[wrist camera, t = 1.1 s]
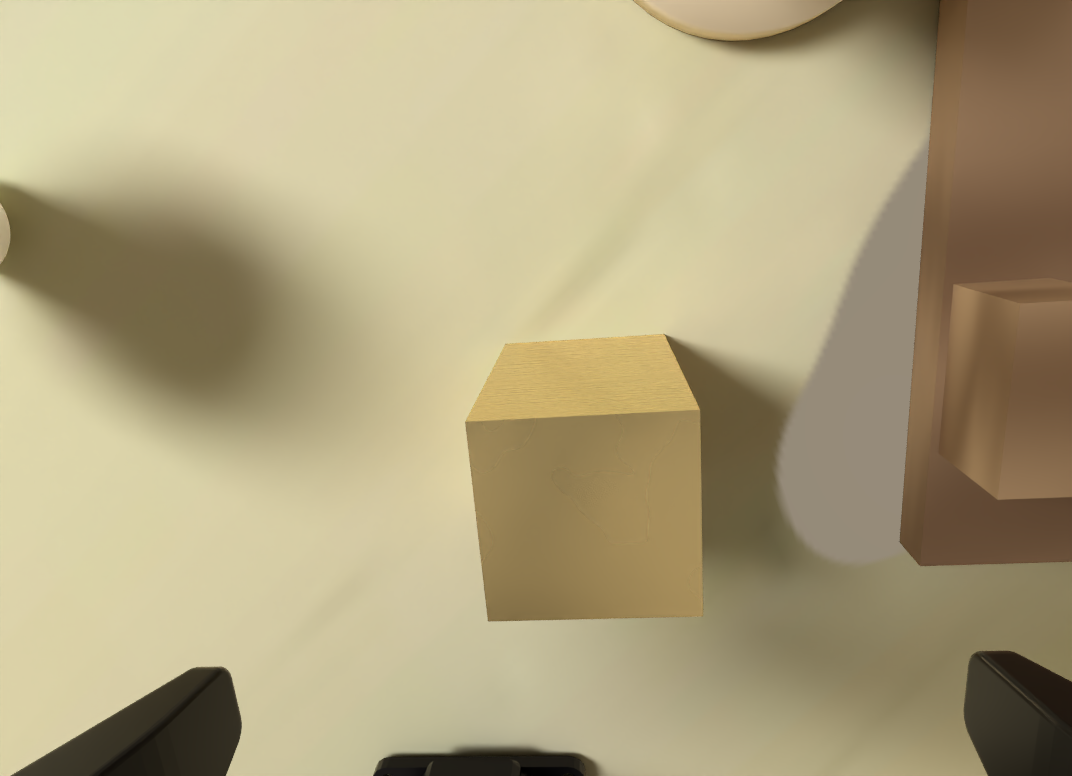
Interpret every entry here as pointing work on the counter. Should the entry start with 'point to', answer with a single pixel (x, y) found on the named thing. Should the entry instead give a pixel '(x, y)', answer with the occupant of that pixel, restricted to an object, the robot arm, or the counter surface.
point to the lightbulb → (4, 234)
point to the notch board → (989, 236)
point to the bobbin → (735, 16)
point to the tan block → (588, 482)
